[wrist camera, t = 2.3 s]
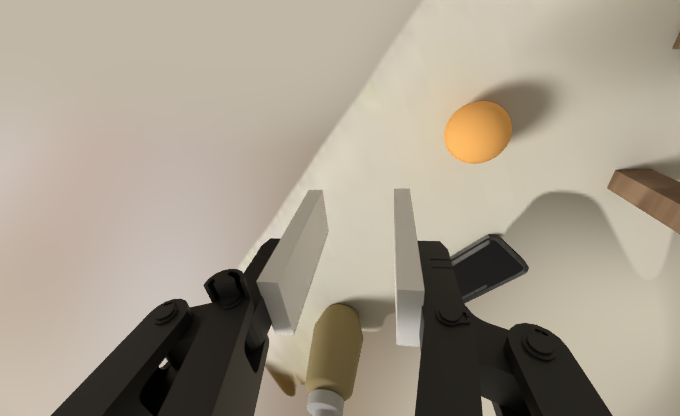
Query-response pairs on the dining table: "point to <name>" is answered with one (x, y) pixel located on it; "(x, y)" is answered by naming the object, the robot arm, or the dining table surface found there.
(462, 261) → the phone
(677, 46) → the bridge
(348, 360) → the squeeze bottle
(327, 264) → the dining table surface
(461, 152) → the ball
